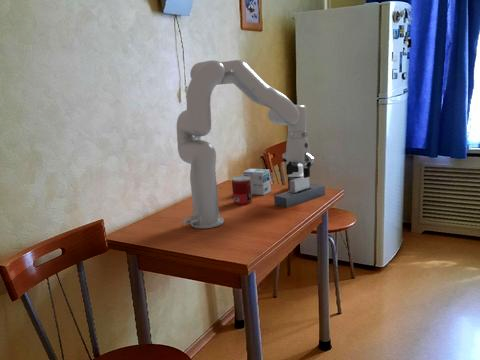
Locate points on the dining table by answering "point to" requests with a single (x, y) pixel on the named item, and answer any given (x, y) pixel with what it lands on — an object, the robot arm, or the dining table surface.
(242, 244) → the dining table surface
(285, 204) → the grey slotted block
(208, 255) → the dining table surface
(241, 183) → the canned food
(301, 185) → the clip
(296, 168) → the medicine bottle
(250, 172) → the light bulb box
